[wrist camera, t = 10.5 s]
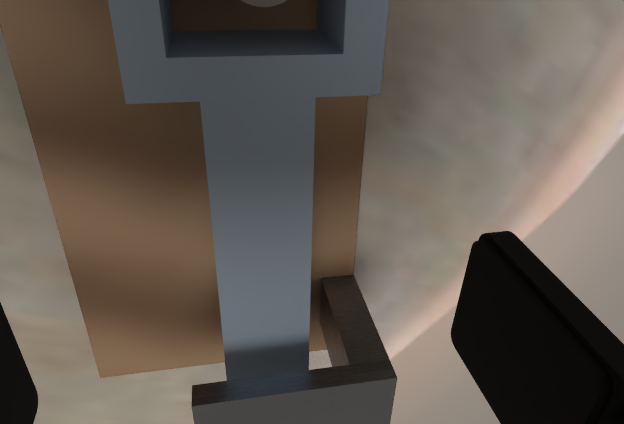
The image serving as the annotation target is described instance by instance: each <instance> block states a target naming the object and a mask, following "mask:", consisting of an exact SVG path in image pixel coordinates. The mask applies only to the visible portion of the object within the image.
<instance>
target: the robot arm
mask: <svg viewBox="0 0 624 424" xmlns="http://www.w3.org/2000/svg"><path fill="white" fill-rule="evenodd" d="M451 338H452V342H453V345H454V347H455V349H456V350H457V352H458V353H459V355H460V357H461V359H462V360H463V362H464V364H465V365H466V367H467V368H468V370H469V372H470V373H471V375H472V377H473V378H474V380H475V382H476V383H477V385H478V387H479V388H480V390H481V392H482V393H483V395H484V397H485V398H486V400H487V401H488V403H489V405H490V406H491V408H492V410H493V411H494V413H495V415H496V417H497V418H498V420H499V421H500V423H501V424H624V344H623V343H622V342H621V341H620V340H619V339H618V338H617V337H616V336H615V335H614V334H613V333H612V332H611V331H610V330H609V329H608V328H607V327H606V326H605V325H604V324H603V323H602V322H601V321H600V320H599V319H598V318H597V317H596V316H595V315H594V314H593V313H592V312H591V311H590V310H589V309H588V308H587V307H586V306H585V305H584V304H583V303H582V302H581V301H580V300H579V299H578V298H577V297H576V296H575V295H574V294H573V293H572V292H571V291H570V290H569V289H568V288H567V287H566V286H565V285H564V284H563V283H562V282H561V281H560V280H559V279H558V278H557V277H556V276H555V275H554V274H553V273H552V272H551V271H550V270H549V269H548V268H547V267H546V266H545V265H544V264H543V263H542V262H541V261H540V260H539V259H538V258H537V257H536V256H535V255H534V254H533V253H532V252H531V251H530V250H529V249H528V248H527V246H525V245H524V244H523V242H522V241H521V240H520V239H519V238H518V237H517V236H516V235H515V234H513V233H512V232H510V231H503V232H493V233H485V234H482V235H481V236H480V237H479V240H478V241H476V242H474V243H473V245H472V248H471V252H470V256H469V260H468V264H467V268H466V272H465V276H464V280H463V284H462V288H461V292H460V296H459V300H458V304H457V309H456V313H455V317H454V321H453V324H452V328H451ZM37 408H38V395H37V391H36V388H35V385H34V383H33V381H32V378H31V376H30V373H29V371H28V368H27V366H26V364H25V361H24V359H23V356H22V354H21V351H20V349H19V347H18V344H17V342H16V339H15V337H14V335H13V332H12V330H11V327H10V325H9V322H8V320H7V318H6V315H5V313H4V310H3V308H2V305H1V303H0V424H33V422H34V419H35V416H36V412H37Z"/></svg>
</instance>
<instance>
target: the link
mask: <svg viewBox="0 0 624 424" xmlns="http://www.w3.org/2000/svg"><path fill="white" fill-rule="evenodd" d="M108 5H109V10H110V16H111V22H112V28H113V33H114V39H115V45H116V50H117V56H118V62H119V67H120V73H121V79H122V85H123V90H124V96H125V102H126V104H142V103H171V102H199V101H200V107H201V117H202V128H203V138H204V149H205V159H206V169H207V180H208V190H209V200H210V211H211V221H212V231H213V242H214V252H215V262H216V273H217V283H218V294H219V304H220V314H221V325H222V335H223V345H224V356H225V366H226V376H227V381H230V380H238V379H245V378H253V377H261V376H268V375H276V374H283V373H291V372H298V371H306V370H309V333H310V294H311V255H312V216H313V176H314V137H315V98H316V97H339V96H367V95H381V85H382V74H383V64H384V53H385V42H386V32H387V21H388V10H389V0H318V6H317V30H232V31H174V28H173V19H172V10H171V2H170V0H108Z"/></svg>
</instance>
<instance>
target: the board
mask: <svg viewBox="0 0 624 424" xmlns="http://www.w3.org/2000/svg"><path fill="white" fill-rule="evenodd" d="M170 2H171V10H172V19H173V28H174V31H232V30H317V6H318V0H170ZM0 25H1V28H2V32H3V35H4V39H5V42H6V46H7V50H8V53H9V57H10V60H11V64H12V67H13V71H14V74H15V78H16V81H17V85H18V88H19V92H20V95H21V99H22V103H23V106H24V110H25V113H26V117H27V120H28V124H29V127H30V131H31V134H32V138H33V141H34V145H35V148H36V152H37V156H38V159H39V163H40V166H41V170H42V173H43V177H44V180H45V184H46V187H47V191H48V194H49V198H50V201H51V205H52V209H53V212H54V216H55V219H56V223H57V226H58V230H59V233H60V237H61V240H62V244H63V247H64V251H65V254H66V258H67V262H68V265H69V269H70V272H71V276H72V279H73V283H74V286H75V290H76V293H77V297H78V300H79V304H80V307H81V311H82V315H83V318H84V322H85V325H86V329H87V332H88V336H89V339H90V343H91V346H92V350H93V353H94V357H95V360H96V364H97V368H98V371H99V375H100V378H102V377H110V376H118V375H126V374H134V373H142V372H150V371H158V370H166V369H174V368H182V367H190V366H198V365H206V364H214V363H222V362H225V356H224V345H223V335H222V325H221V314H220V304H219V294H218V283H217V273H216V262H215V252H214V242H213V231H212V221H211V211H210V200H209V190H208V180H207V169H206V159H205V149H204V138H203V128H202V117H201V107H200V101H199V102H171V103H142V104H126V102H125V96H124V90H123V85H122V79H121V73H120V67H119V62H118V56H117V50H116V45H115V39H114V33H113V28H112V22H111V16H110V10H109V5H108V0H0ZM367 102H368V95H367V96H339V97H316V98H315V137H314V176H313V216H312V255H311V294H310V333H309V352H310V351H318V350H326V349H327V347H326V343H325V340H324V336H323V333H322V329H321V326H320V297H321V278H324V277H334V276H344V275H353V273H354V261H355V249H356V237H357V224H358V212H359V200H360V188H361V176H362V163H363V151H364V139H365V127H366V114H367Z"/></svg>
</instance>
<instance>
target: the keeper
mask: <svg viewBox="0 0 624 424" xmlns="http://www.w3.org/2000/svg"><path fill="white" fill-rule="evenodd" d="M320 326H321V329H322V333H323V336H324V340H325V343H326V347H327V350H328V354H329V357H330V361H331V364H332V367H329V368H321V369H314V370H306V371H298V372H291V373H283V374H276V375H268V376H261V377H253V378H245V379H238V380H230V381H223V382H215V383H208V384H200V385H192V411H193V418H194V424H390V419H391V414H392V407H393V400H394V395H395V388H396V382H397V376H396V374H395V371H394V369H393V367H392V364H391V362H390V360H389V357H388V355H387V353H386V350H385V348H384V346H383V343H382V341H381V338H380V336H379V334H378V331H377V329H376V327H375V324H374V322H373V320H372V317H371V315H370V313H369V310H368V308H367V305H366V303H365V301H364V298H363V296H362V294H361V291H360V289H359V287H358V284H357V282H356V280H355V277H354V275H344V276H334V277H324V278H321V297H320Z"/></svg>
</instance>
